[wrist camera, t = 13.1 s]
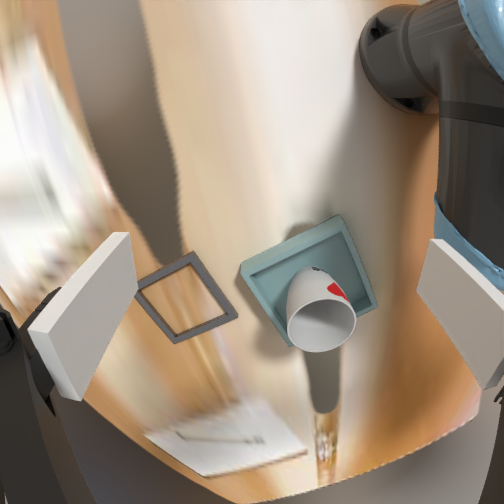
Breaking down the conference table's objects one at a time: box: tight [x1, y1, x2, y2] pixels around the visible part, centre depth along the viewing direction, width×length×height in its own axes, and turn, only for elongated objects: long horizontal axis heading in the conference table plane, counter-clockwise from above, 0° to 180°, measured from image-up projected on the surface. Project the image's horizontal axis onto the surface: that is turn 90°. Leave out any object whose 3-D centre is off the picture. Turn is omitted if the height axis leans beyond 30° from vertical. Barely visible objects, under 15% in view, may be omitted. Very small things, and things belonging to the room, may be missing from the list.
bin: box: [240, 215, 378, 347], centre depth 43 cm, size 15×15×3 cm
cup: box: [286, 266, 356, 352], centre depth 39 cm, size 8×8×10 cm
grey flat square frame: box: [135, 251, 238, 344], centre depth 45 cm, size 12×12×1 cm
